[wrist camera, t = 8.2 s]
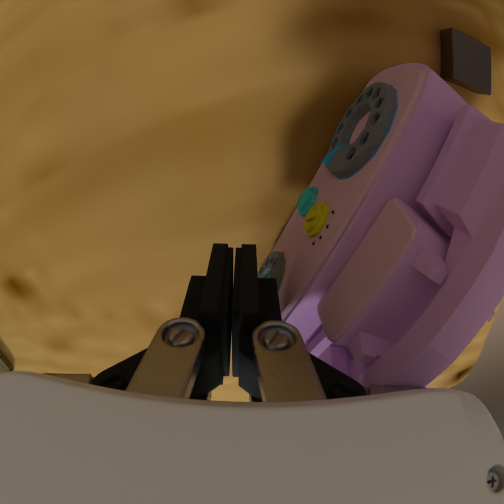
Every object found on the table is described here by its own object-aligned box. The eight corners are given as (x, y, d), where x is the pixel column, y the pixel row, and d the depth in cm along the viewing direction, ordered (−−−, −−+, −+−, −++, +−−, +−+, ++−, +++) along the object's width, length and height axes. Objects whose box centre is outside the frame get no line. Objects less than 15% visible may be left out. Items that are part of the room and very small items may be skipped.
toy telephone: (360, 61, 11) (524, 26, 2) (452, 133, 12) (601, 197, 3) (212, 331, 18) (191, 478, 10) (297, 358, 20) (311, 491, 11)
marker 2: (440, 78, 11) (453, 78, 9) (439, 30, 9) (451, 27, 8) (478, 93, 11) (491, 95, 9) (478, 48, 9) (490, 47, 8)
